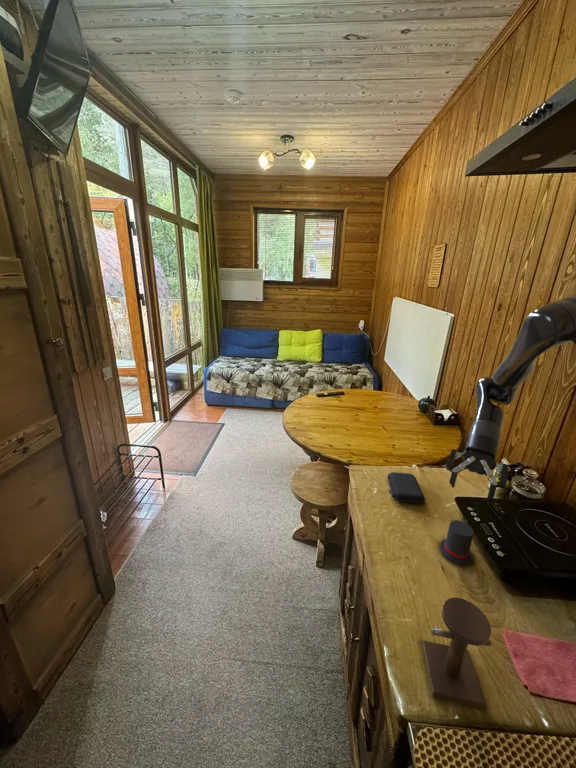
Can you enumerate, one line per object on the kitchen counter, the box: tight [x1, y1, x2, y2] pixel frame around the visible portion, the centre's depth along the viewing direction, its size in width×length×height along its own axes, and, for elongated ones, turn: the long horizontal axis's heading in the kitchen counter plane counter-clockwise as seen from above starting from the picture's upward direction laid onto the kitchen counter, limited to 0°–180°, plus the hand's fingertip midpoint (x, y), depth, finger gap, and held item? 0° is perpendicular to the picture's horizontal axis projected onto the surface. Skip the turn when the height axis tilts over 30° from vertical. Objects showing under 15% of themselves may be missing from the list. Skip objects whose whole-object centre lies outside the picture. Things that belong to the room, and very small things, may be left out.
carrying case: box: [387, 471, 426, 505], centre depth 103 cm, size 11×3×15 cm
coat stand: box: [421, 597, 492, 709], centre depth 53 cm, size 9×8×14 cm
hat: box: [439, 520, 475, 566], centre depth 78 cm, size 8×8×8 cm
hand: (470, 493), depth 83 cm, fingers open, 8 cm apart
